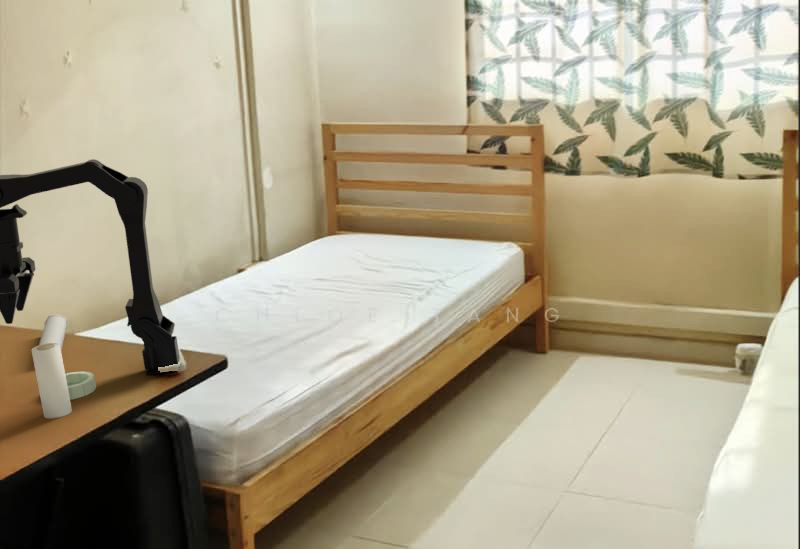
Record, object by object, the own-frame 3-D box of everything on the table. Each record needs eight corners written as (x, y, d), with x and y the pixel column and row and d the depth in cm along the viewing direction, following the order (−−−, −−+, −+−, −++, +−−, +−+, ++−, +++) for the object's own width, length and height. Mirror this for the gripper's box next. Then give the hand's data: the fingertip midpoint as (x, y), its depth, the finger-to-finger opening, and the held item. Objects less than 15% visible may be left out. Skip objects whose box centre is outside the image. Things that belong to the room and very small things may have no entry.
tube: (62, 348, 211) (69, 315, 235) (36, 344, 210) (46, 312, 233) (58, 371, 212) (65, 337, 236) (32, 367, 211) (42, 333, 234)
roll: (74, 406, 187) (62, 341, 184) (68, 416, 182) (55, 349, 179) (47, 409, 187) (35, 343, 183) (40, 419, 182) (27, 352, 178)
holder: (99, 381, 200) (97, 369, 199) (90, 397, 191) (87, 385, 190) (54, 386, 199) (52, 374, 198) (42, 402, 190) (40, 390, 190)
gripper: (-26, 233, 201) (-15, 307, 205) (-54, 254, 183) (-41, 334, 187) (30, 230, 202) (40, 303, 206) (8, 249, 184) (20, 329, 188)
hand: (14, 316), depth 197 cm, fingers open, 9 cm apart
